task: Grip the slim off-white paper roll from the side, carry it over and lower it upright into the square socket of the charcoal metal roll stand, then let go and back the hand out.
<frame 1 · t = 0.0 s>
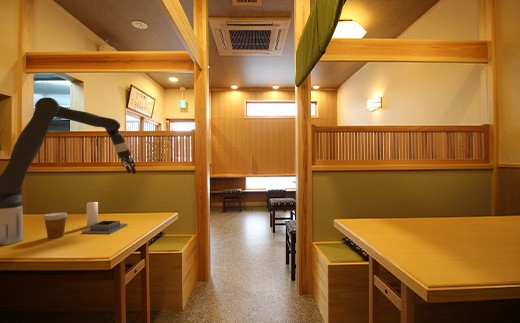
hand: (132, 173, 159), 31 cm above the table, tool tilted 20°, fingers open, 8 cm apart
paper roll: (92, 225, 145), on the table
disposable coffee cup: (55, 237, 124), on the table
roll stand: (105, 229, 138), on the table
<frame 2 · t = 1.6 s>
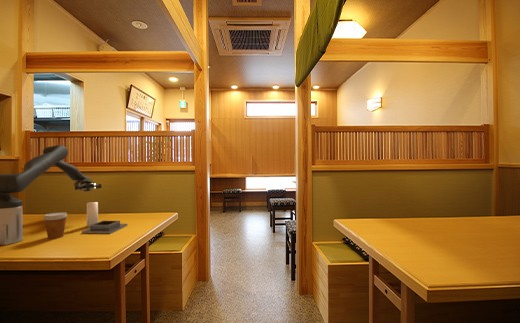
hand: (89, 187, 153), 22 cm above the table, tool horizontal, fingers open, 8 cm apart
nothing on the table moved.
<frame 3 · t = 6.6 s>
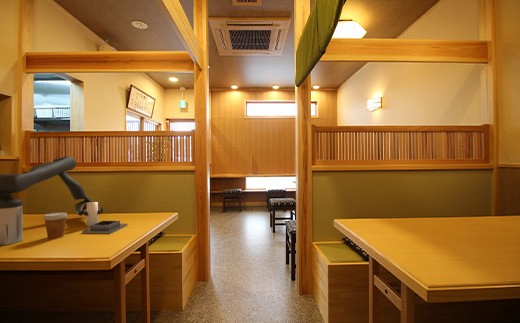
hand: (93, 213, 144), 8 cm above the table, tool horizontal, fingers closed on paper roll, 5 cm apart
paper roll: (92, 225, 145), on the table, touching gripper
everything else where it was.
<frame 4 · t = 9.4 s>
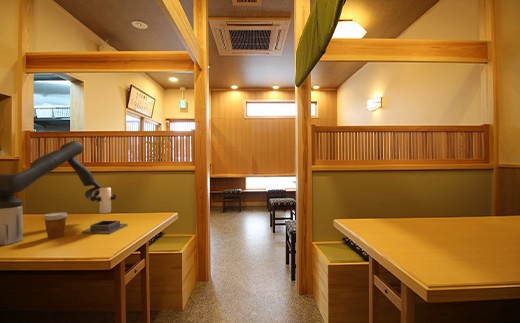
hand: (106, 198, 137), 18 cm above the table, tool horizontal, fingers closed on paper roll, 5 cm apart
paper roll: (105, 212, 138), point 10 cm above the table, touching gripper
everything else where it was.
when the fingers open (10 cm above the table, at t = 12.2 s): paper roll drops 1 cm, resting on roll stand.
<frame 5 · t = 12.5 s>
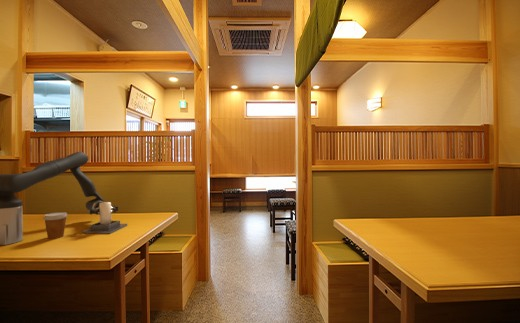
hand: (106, 211, 137), 10 cm above the table, tool horizontal, fingers open, 8 cm apart
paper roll: (105, 227, 138), point 1 cm above the table, touching roll stand
everything else where it was.
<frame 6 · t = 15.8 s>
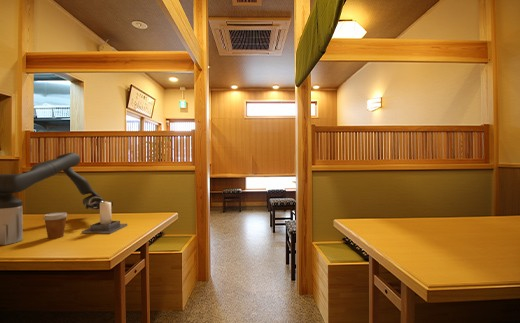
hand: (101, 206, 146), 12 cm above the table, tool horizontal, fingers open, 8 cm apart
nothing on the table moved.
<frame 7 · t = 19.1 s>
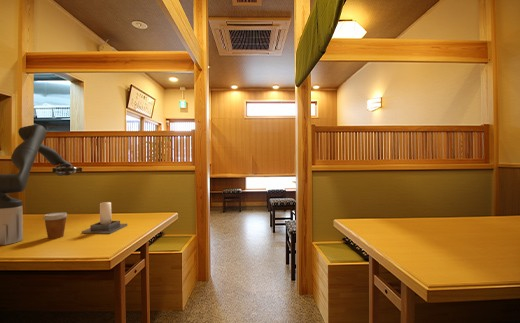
hand: (68, 170, 143), 34 cm above the table, tool horizontal, fingers open, 8 cm apart
nothing on the table moved.
at the end: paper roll 0.1 cm off-centre on the roll stand, point 1.2 cm above the roll stand's base; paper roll tilted 0°; the gripper is holding nothing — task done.
